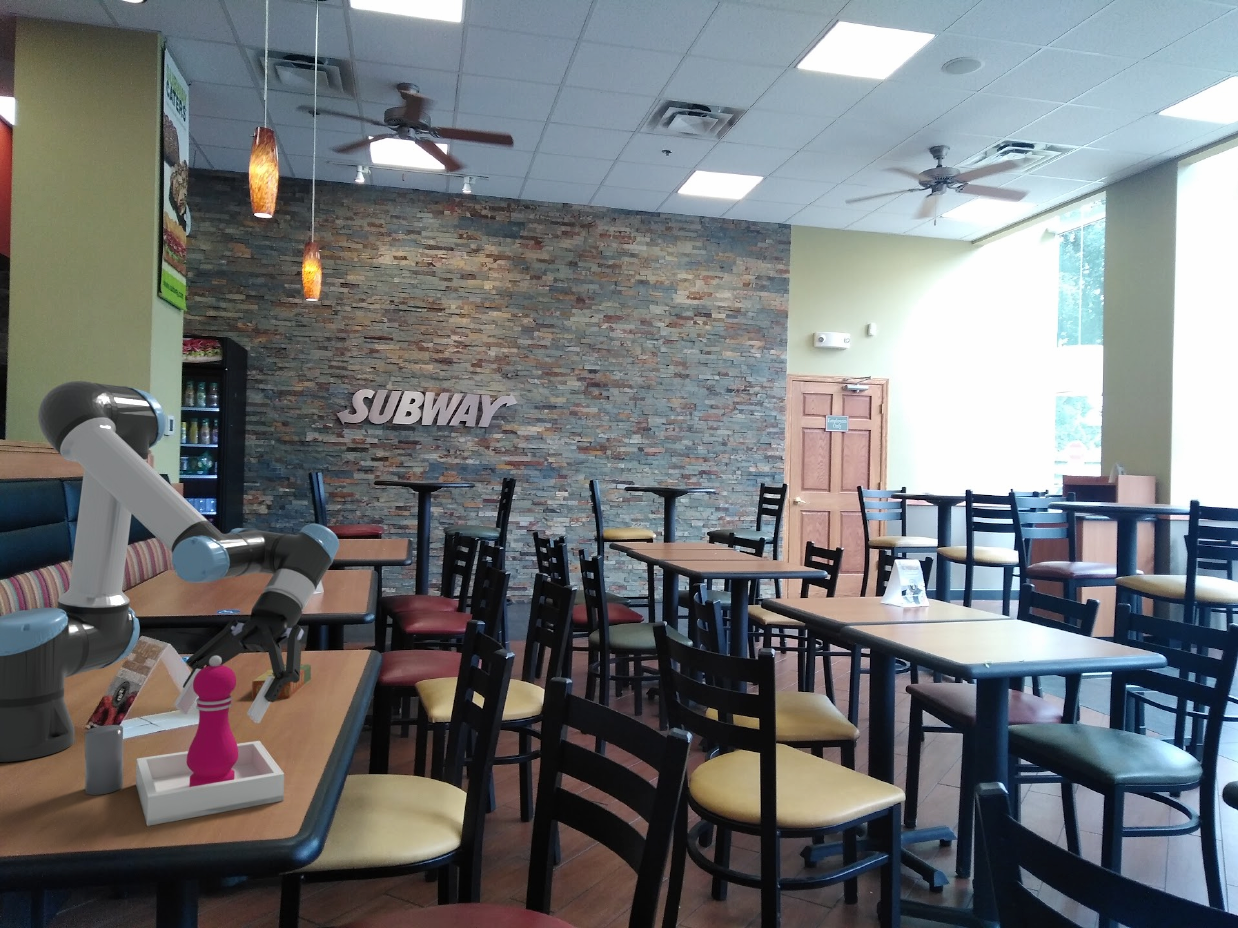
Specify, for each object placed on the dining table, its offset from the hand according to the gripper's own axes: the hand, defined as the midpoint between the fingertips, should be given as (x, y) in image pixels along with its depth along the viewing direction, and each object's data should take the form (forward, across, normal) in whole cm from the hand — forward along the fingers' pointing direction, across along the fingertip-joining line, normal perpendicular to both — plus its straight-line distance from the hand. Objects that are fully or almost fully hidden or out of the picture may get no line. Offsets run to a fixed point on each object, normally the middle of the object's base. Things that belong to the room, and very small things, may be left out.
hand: (215, 714), depth 130 cm
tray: (+9, 0, -8) cm, 12 cm away
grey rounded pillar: (+12, +16, -5) cm, 20 cm away
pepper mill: (+8, 0, -8) cm, 11 cm away
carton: (-29, +30, -47) cm, 63 cm away
